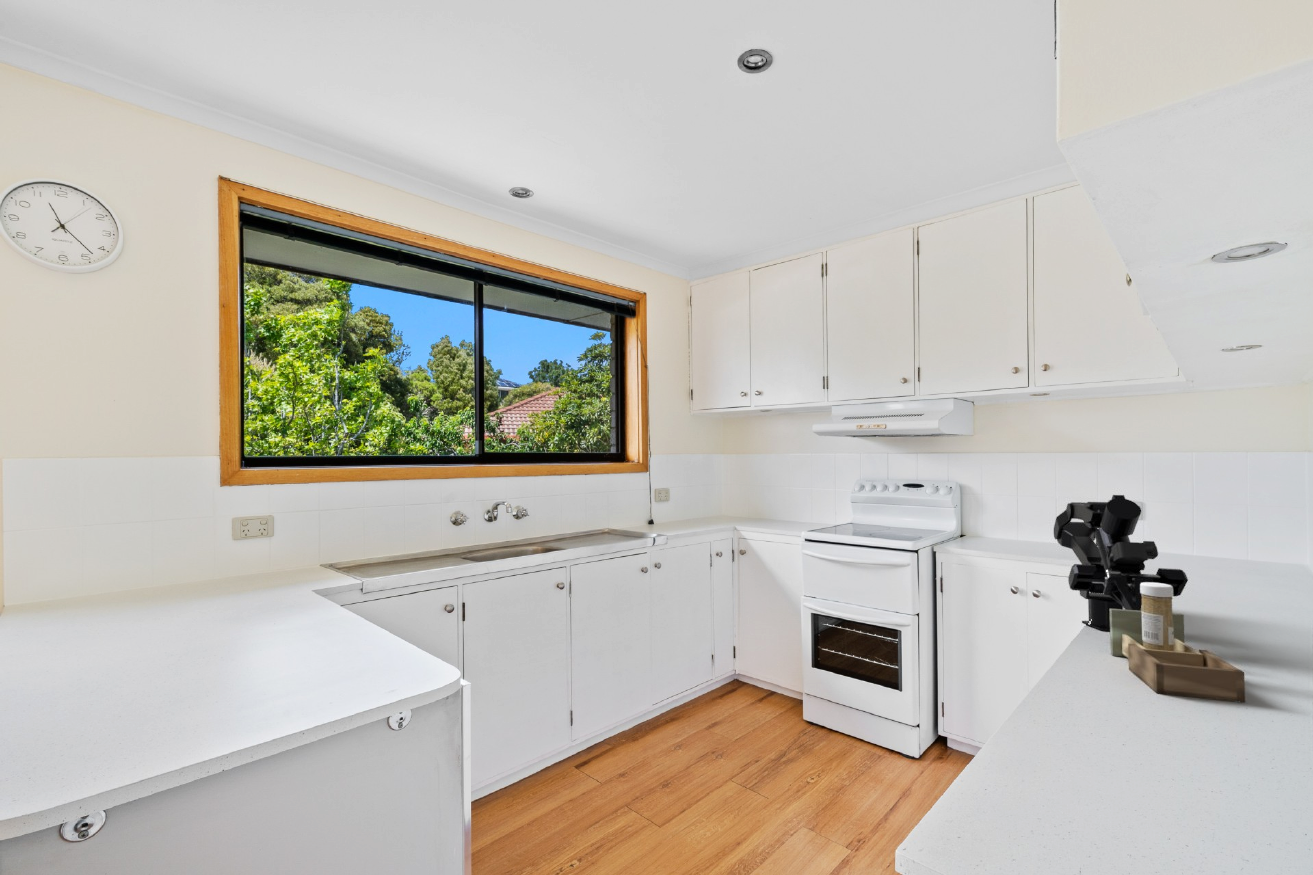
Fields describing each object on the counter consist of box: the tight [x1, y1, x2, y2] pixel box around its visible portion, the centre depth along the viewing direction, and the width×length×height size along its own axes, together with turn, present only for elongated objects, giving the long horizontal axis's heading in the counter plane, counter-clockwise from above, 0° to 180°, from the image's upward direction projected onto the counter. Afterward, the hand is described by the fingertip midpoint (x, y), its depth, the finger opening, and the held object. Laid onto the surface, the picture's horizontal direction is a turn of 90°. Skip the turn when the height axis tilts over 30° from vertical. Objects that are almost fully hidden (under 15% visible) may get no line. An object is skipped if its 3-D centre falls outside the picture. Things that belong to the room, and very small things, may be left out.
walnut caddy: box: [1128, 644, 1246, 703], centre depth 103 cm, size 12×11×4 cm
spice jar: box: [1140, 582, 1174, 651], centre depth 111 cm, size 5×5×14 cm
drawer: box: [1109, 608, 1204, 667], centre depth 112 cm, size 12×11×8 cm
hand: (1137, 616), depth 121 cm, fingers closed
